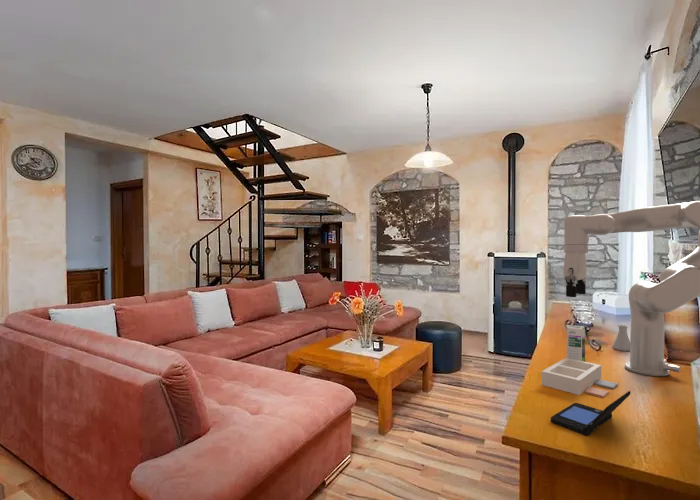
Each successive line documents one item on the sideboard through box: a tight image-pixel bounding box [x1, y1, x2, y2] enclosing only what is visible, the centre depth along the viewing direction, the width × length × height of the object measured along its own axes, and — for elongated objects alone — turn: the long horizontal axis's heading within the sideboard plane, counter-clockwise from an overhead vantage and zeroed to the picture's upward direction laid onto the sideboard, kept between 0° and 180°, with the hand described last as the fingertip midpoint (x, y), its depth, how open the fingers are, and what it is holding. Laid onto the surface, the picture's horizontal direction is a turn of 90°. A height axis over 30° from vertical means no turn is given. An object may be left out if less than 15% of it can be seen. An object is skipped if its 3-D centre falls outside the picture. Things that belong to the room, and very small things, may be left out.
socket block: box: [541, 357, 618, 399], centre depth 125 cm, size 16×20×4 cm
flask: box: [611, 324, 630, 352], centre depth 163 cm, size 7×7×10 cm
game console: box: [550, 390, 632, 437], centre depth 99 cm, size 16×14×9 cm
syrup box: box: [566, 324, 586, 362], centre depth 143 cm, size 6×6×14 cm
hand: (575, 295), depth 143 cm, fingers open, 9 cm apart
